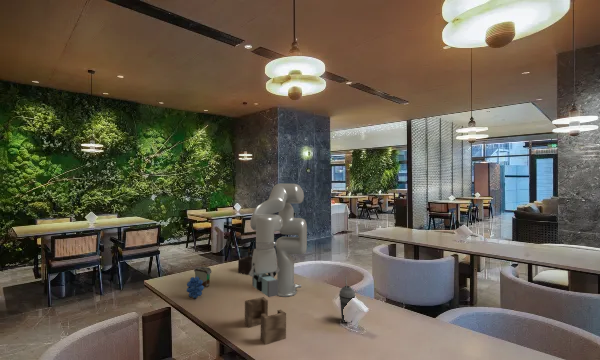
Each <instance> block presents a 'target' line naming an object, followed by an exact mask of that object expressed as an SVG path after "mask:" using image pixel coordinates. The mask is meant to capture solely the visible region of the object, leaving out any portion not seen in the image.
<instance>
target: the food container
mask: <svg viewBox="0 0 600 360" xmlns="http://www.w3.org/2000/svg"><path fill="white" fill-rule="evenodd" d="M193 272H194V278H195V277H199V280H202V281H203V283H202V285H203V286H204V288H208V287H209V286H210V281H211V274H212V269H211V267H207V266H198V267H195V268H194V271H193Z"/></svg>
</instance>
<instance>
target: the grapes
mask: <svg viewBox="0 0 600 360" xmlns="http://www.w3.org/2000/svg"><path fill="white" fill-rule="evenodd" d="M202 283H203V281H202V280H199V277H195V276H193V277H190V279H189V281H187V283H186V286H187V288H186V292H187V293H188V296H189V297H190V298H193V299H194V300H196V299H197V298H198V297H200V296H202V294H203V290H204V289H205V287H204V286H203V285H202Z"/></svg>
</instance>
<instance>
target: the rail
mask: <svg viewBox="0 0 600 360" xmlns="http://www.w3.org/2000/svg"><path fill="white" fill-rule="evenodd" d="M254 275H256V273H255V272H254ZM251 277H252V276H251ZM251 280H252V283H251V284H252V285H251V286H252V287H253V288H255V289H256V290H257V287H256V282H257V280H255V279H254V278H253V277H252V278H251ZM261 282H262V291H260V292H261V294H263V295H264V296H266V297H268V298H271V297H277V296H278V280H277V279H276V278H275V277H274V278H273V277H271V276H269V275H268V273H265V274H262V276H261Z"/></svg>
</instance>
